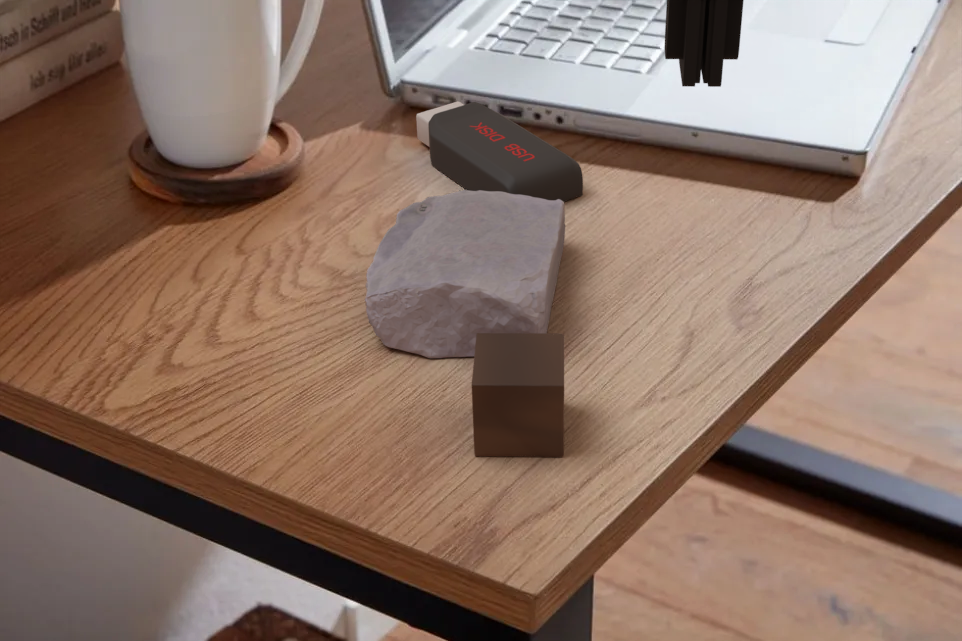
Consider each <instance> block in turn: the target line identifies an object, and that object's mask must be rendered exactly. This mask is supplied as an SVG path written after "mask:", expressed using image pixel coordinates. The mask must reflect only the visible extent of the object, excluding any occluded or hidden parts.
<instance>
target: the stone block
mask: <svg viewBox="0 0 962 641" xmlns="http://www.w3.org/2000/svg"><path fill="white" fill-rule="evenodd" d="M565 212H566V211H565V202H563V201H562V200H560V199H557V200H546V199H542V198H536V197H531V196H526V195H520V194H518V195H515V194H510V193H506V192H500V191H482V190H479V191H469V190H466V189H463V190H458V191H454V192H450V193H446V194H443V195H433V196H432V195H431V196H427V197H426V198H424V199H423V200H422V201H416V202H413V203H411V204H410V205H408V206H406V207H404V208H402V209H400V210H399V211H398V212H397V213H396V217H395V218H396V219H395V224H394V225H393V226H391V227H389V229H388V230H387V231H386V233H385V234H384V236H383V237H382V239H381V241H380V242H379V244H378V246H377V249H376V251H375V254H374V255H373V259H372V260H373V261H372V262H371V263H370V265H369V267H368V268H367V270H366V275H365V276H366V282H365V288H366V294H365V299H364V301H365V306H366V307H365V310H366V316H367V319H368V323H369V324H370V326H371V327H372V330H373V332H374V334H375V336H377V338H378V339H380V341H381V342H382V344H383V346H385V347H387V348H390V349H396V350H399V351H403V352H407V353H412V354H415V355H420V356H423V357H425V358H428V359H444V358H465V357H474V354H475V344H476V334H477V333H548V329H549V323H550V319H551V313H552V307H553V302H554V298H555V292H556V287H557V282H558V276H559V270H560V265H561V262H562V256H563V251H564V246H565V237H566V236H565V235H566V224H565V222H566V215H565V214H566V213H565Z"/></svg>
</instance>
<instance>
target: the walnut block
mask: <svg viewBox="0 0 962 641" xmlns="http://www.w3.org/2000/svg"><path fill="white" fill-rule="evenodd" d="M471 377H472V378H471V405H472V406H471V407H472V429H473V433H472V434H473V452H474V453H473V455H474V456H475V457H531V458H532V457H535V458H537V457H539V458H543V457H544V458H547V457H548V458H563V457H564V456H565V334H564V333H555V332H554V333H551V332H549V333H548V332H547V333H477V334H476V344H475V354H474V356H473V366H472V376H471Z"/></svg>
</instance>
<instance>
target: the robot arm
mask: <svg viewBox="0 0 962 641" xmlns="http://www.w3.org/2000/svg"><path fill="white" fill-rule="evenodd" d="M665 10H666V12H665V25H664V26H665V29H664V58H665V60H678V65H679V71H680V78H681V79H680V80H681V86H682V87H696V84H700V83H701V76H702V83H703V84H707V87H713V88H715V87H717V88H721V87H722V80H723V69H724V60H738V59H739V54H740V46H741V45H740V44H741V34H742V24H743V23H742V21H743V12H744V0H666V9H665Z"/></svg>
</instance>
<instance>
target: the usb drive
mask: <svg viewBox="0 0 962 641" xmlns="http://www.w3.org/2000/svg"><path fill="white" fill-rule="evenodd" d="M415 120H416V136H417V140H419V141H420V142H421V143H423V144H424V145H425V146H427V147H428V148H429V158H430V164H431V166H432V167H433V168H435V169H436V170H438V171H439V172H440V173H442V174H443V175H444V176H446V177H447V178H449V179H450V180H452V181H453V182H454V183H456V184H457V185H459V186H460V187H462V188H463V189H464V190H469V191H479V190H482V191H500V192H506V193H510V194H515V195H518V194H520V195H526V196H531V197H536V198H542V199H546V200H557V199H560V200H562V201H563V202H564V203H565V202H567V201H569V200H572V199H575V198H578V197H581V196H583V195H584V177H583V170H582V167H581V165H580V164H579V163H578V162H577V160H575V159H574V158H573V157H571V156H570V155H568V154H567V153H565V152H563V151H562V150H560V149H558V148H557V147H555V146H553V145H552V144H550V143H549V142H547V141H545V140H544V139H542V138H540V137H539V136H537V135H535V134H534V133H533V132H530V131H529V130H527V129H526V128H524V127H522V126H521V125H519V124H517V123H516V122H515V121H513V120H511V119H510V118H508V117H506V116H504V115H503V114H501V113H499V112H497V111H495V110H493V109H491V108H490V107H488V106H485V105H483V104H481V103H479V102H477V101H473V102H469V103H466V104H464V103H462V102H461V101H459V100H457V101H455V102H451V103H448V104H444V105H441V106H438V107H435V108H431V109H428V110H425V111H421V112H418V113H416V116H415Z"/></svg>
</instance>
